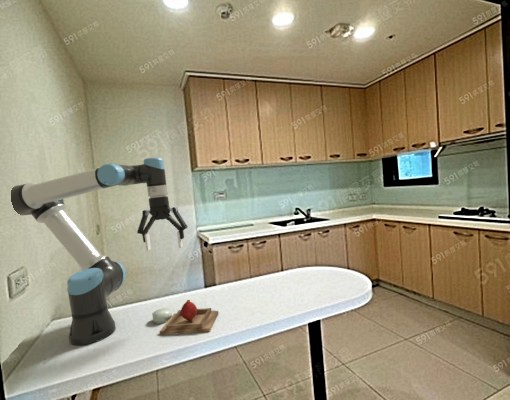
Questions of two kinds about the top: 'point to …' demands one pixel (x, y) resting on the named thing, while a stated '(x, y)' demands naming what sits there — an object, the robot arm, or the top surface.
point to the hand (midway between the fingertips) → (164, 248)
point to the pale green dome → (161, 315)
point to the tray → (190, 322)
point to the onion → (189, 310)
